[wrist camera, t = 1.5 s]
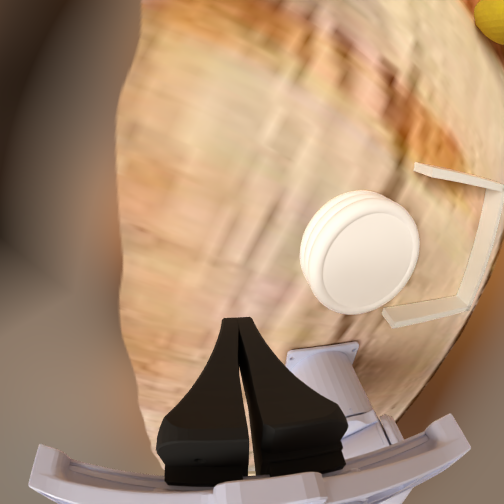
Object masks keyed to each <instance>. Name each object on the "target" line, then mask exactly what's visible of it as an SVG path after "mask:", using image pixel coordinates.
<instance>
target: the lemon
mask: <svg viewBox="0 0 504 504" xmlns="http://www.w3.org/2000/svg"><path fill="white" fill-rule="evenodd" d="M474 17H475V24H476V26H477V27H478V28H479V29H480V30H481V31H482V33H483V34H484V35H485V36H486V37H488V38H489V39H490V40H492V41H494V42H496V43H498V44H502V45H504V0H481V1H479V2H478V3H477V5H476V6H475V9H474Z"/></svg>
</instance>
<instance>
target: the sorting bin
mask: <svg viewBox="0 0 504 504" xmlns="http://www.w3.org/2000/svg"><path fill="white" fill-rule="evenodd" d="M414 171H416V172H418V173H421V174H424V175H427V176H430V177H433V178H439V179H445V180H450V181H455V182H460V183H465V184H470V185H474V186H479V187H483V188H486V192H485V197H484V203H483V207H482V212H481V217H480V221H479V225H478V229H477V233H476V237H475V241H474V244H473V248H472V251H471V254H470V258H469V261H468V264H467V267H466V270H465V273H464V276H463V279H462V281H461V284H460V287H459V290H458V292H457V295H455V296H450V297H445V298H439V299H434V300H429V301H423V302H417V303H411V304H405V305H399V306H392V307H386V308H383V311H382V315H383V317H384V318H385V319H386V321H387V322H388V323H389V325H390V326H391V327H392V329H393V328H398V327H403V326H408V325H413V324H417V323H422V322H426V321H430V320H435V319H439V318H443V317H447V316H450V315H454V314H458V313H462V312H465V311H469V309H470V307H471V305H472V303H473V300H474V298H475V295H476V293H477V290H478V288H479V285H480V283H481V280H482V277H483V274H484V272H485V269H486V266H487V263H488V260H489V257H490V254H491V250H492V247H493V244H494V240H495V236H496V233H497V229H498V225H499V221H500V217H501V212H502V207H503V203H504V185H503V184H501V183H498V182H496V181H493V180H491V179H487V178H484V177H480V176H476V175H472V174H468V173H464V172H460V171H456V170H452V169H447V168H443V167H438V166H433V165H428V164H423V163H418V162H415V164H414Z"/></svg>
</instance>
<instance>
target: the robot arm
mask: <svg viewBox="0 0 504 504" xmlns="http://www.w3.org/2000/svg"><path fill="white" fill-rule="evenodd" d="M358 348H359V343H358V342H357V341H355V342H349V343H342V344H336V345H329V346H321V347H313V348H305V349H296V350H290V351H289V352H288V353H287V359H286V365H284V364H283V363H282V362H281V361H280V360H279V359H278V358H277V356H276V355H275V354H274V353H273V351H272V350H271V349H270V348H269V346H268V345H267V343H266V342H265V341H264V339H263V338H262V336H261V334H260V333H259V331H258V329H257V328H256V326H255V324H254V322H253V319H252V318H251V317H240V318H224V319H223V320H222V324H221V329H220V333H219V336H218V339H217V342H216V345H215V347H214V350H213V352H212V354H211V356H210V358H209V360H208V362H207V364H206V366H205V368H204V370H203V371H202V373H201V375H200V376H199V378H198V379H197V381H196V382H195V384H194V385H193V386H192V388H191V389H190V390H189V392H188V393H187V394H186V395H185V396H184V398H183V399H182V400H181V401H180V402H179V403H178V404H177V405H176V406H175V407H174V408H173V409H172V410H171V411H170V412H169V413H168V414H167V415H166V416H165V417H164V419H163V421H162V423H161V426H160V429H159V432H158V436H157V445H156V451H157V454H158V455H159V456H160V458H161V459H162V461H163V462H164V464H165V476H158V475H149V474H141V473H134V472H128V471H122V470H116V469H110V468H106V467H101V466H97V465H92V464H88V463H84V462H80V461H77V460H73V459H70V458H69V456H67V454H65V453H64V452H62V451H60V450H57V449H55V448H52V447H49V446H46V445H43V444H39V447H38V450H37V454H36V457H35V461H34V464H33V468H32V472H31V476H30V480H29V487H30V488H32V489H34V490H35V491H37V492H38V493H40V494H42V495H44V496H45V497H47V498H49V499H50V500H52V501H54V502H56V503H58V504H402V503H403V501H404V500H405V498H406V497H407V495H408V494H409V493H410V491H411V490H412V489H413V487H415V486H417V485H419V484H421V483H423V482H424V481H426V480H428V479H430V478H432V477H434V476H435V475H437V474H439V473H441V472H442V471H444V470H445V469H447V468H448V467H449V466H451V465H452V464H453V463H454V462H456V461H457V460H458V459H459V458H461V457H462V456H463V455H464V454H465V453H467V451H469V450H470V449H471V447H470V445H469V443H468V441H467V439H466V438H465V436H464V434H463V433H462V431H461V429H460V427H459V426H458V424H457V423H456V421H455V419H454V417H453V416H452V414H448V415H446V416H444V417H442V418H440V419H438V420H436V421H434V422H433V423H431V424H430V425H429V426H428V427H427V428H426V430H425V431H424V432H422V433H419V434H417V435H415V436H412V437H410V438H407V439H405V440H404V439H403V437H402V435H401V433H400V431H399V429H398V427H397V425H396V423H395V421H394V419H393V417H392V416H387V415H386V414H384V415H382V416H380V419H381V422H382V424H383V426H382V424H381V422H380V420H379V418H378V416H377V415H376V413H375V411H374V410H373V408H372V406H371V404H370V401H369V399H368V397H367V395H366V393H365V391H364V389H363V387H362V385H361V383H360V381H359V379H358V377H357V375H356V373H355V371H354V368H353V366H352V364H353V361H354V359H355V356H356V353H357V350H358ZM291 357H293V358H291ZM239 367H240V372H241V377H242V381H243V386H244V391H245V395H246V400H247V404H248V410H249V419H250V427H251V436H252V444H253V453H254V462H255V471H256V476H248V465H249V435H248V427H247V422H246V416H245V410H244V404H243V398H242V391H241V384H240V377H239ZM383 427H384V428H383Z"/></svg>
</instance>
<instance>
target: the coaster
mask: <svg viewBox="0 0 504 504" xmlns="http://www.w3.org/2000/svg"><path fill="white" fill-rule="evenodd" d="M419 249H420V239H419V233H418V229H417V226H416V224H415V222H414V220H413V218H412V217H411V215H410V214H409V213H408V211H407V210H406V209H405V208H404V207H402V206H401V205H400V204H398V203H396V202H394V201H392V200H391V199H389V198H387V197H385V196H383V195H381V194H379V193H376V192H373V191H367V190H357V191H350V192H346V193H343V194H341V195H338V196H336V197H335V198H333V199H331V200H330V201H328V202H327V203H326V204H325V205H323V206H322V207H321V208H320V209H319V210H318V211H317V213H316V214H315V215H314V216H313V218H312V219H311V220H310V222H309V224H308V226H307V227H306V230H305V232H304V234H303V238H302V241H301V247H300V263H301V268H302V271H303V274H304V276H305V278H306V280H307V282H308V284H309V286H310V287H311V289H312V291H313V293H314V295H315V296H316V298H317V299H318V300H319V301H320V302H321V303H322V304H323V305H324V306H326V307H327V308H329V309H330V310H332V311H334V312H337V313H341V314H347V315H355V314H362V313H366V312H370V311H372V310H375V309H377V308H379V307H381V306H383V305H384V304H386V303H387V302H389V301H390V300H391V299H393V298H394V297H395V296H396V295H397V294H398V293H399V292H400V291H401V290H402V289H403V287H404V286H405V285H406V283H407V282H408V280H409V279H410V277H411V275H412V273H413V271H414V269H415V266H416V263H417V260H418V256H419Z"/></svg>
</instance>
